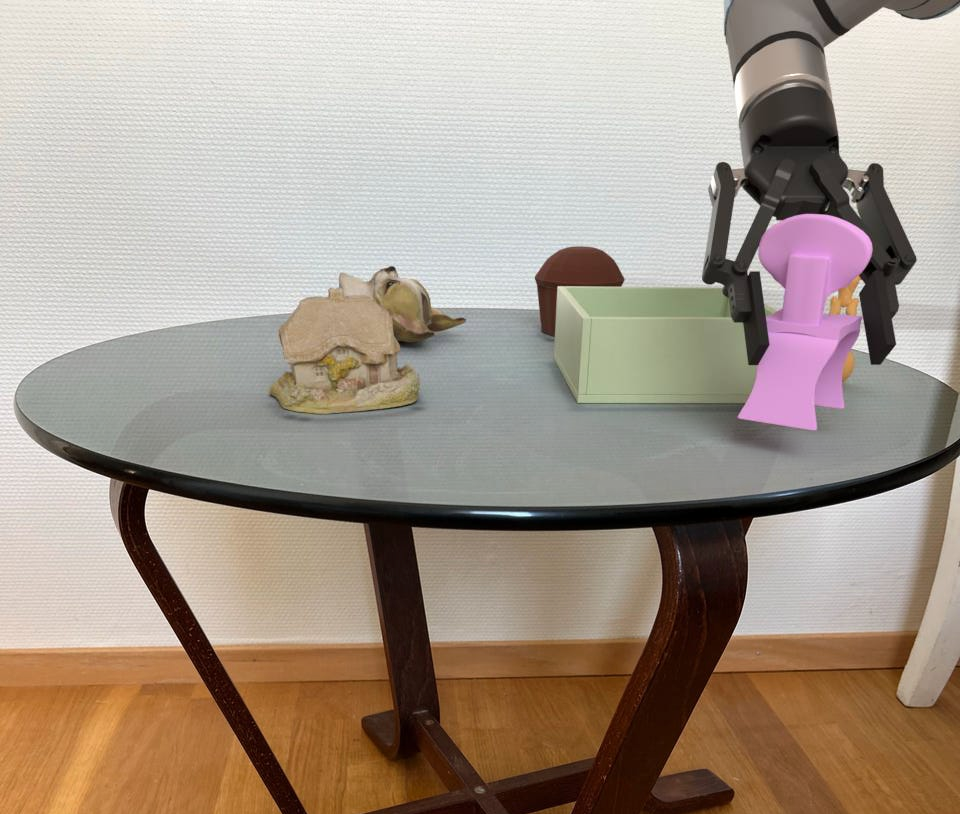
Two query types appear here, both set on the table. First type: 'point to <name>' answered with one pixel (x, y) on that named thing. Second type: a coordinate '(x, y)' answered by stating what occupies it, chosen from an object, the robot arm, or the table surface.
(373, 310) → the ceramic model
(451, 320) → the ceramic sculpture
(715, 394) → the bin
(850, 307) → the figurine
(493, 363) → the table surface
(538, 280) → the muffin
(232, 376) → the table surface
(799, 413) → the toy chair
